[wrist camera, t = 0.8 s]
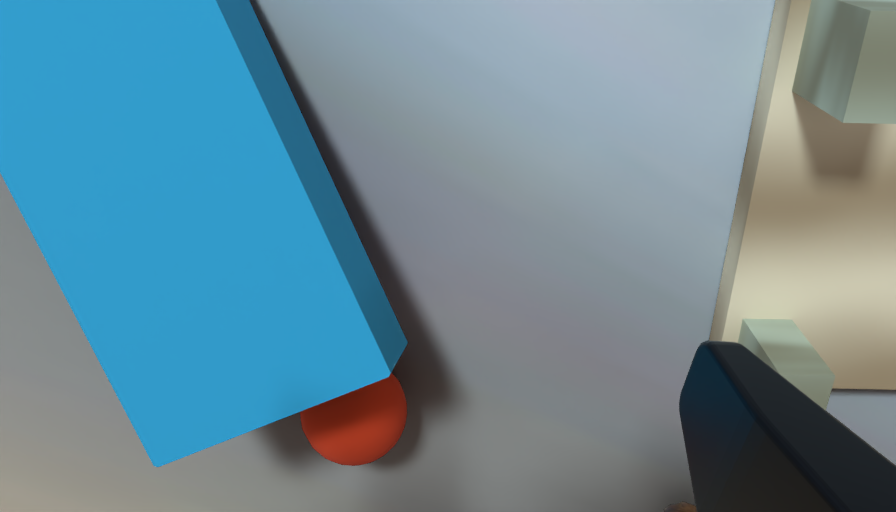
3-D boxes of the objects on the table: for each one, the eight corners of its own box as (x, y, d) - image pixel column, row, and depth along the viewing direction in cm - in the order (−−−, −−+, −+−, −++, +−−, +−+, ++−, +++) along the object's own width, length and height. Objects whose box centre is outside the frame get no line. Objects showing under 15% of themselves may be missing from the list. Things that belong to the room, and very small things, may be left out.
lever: (59, -18, 25) (299, 467, 27) (-123, -62, 18) (218, 589, 21) (241, -118, 24) (477, 400, 26) (119, -206, 17) (453, 506, 19)
